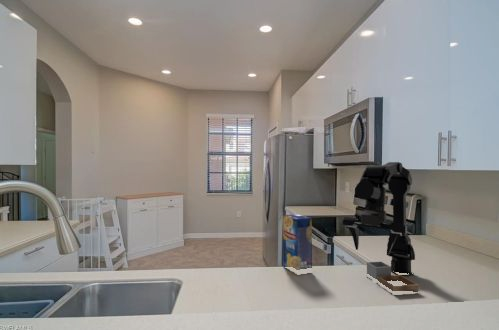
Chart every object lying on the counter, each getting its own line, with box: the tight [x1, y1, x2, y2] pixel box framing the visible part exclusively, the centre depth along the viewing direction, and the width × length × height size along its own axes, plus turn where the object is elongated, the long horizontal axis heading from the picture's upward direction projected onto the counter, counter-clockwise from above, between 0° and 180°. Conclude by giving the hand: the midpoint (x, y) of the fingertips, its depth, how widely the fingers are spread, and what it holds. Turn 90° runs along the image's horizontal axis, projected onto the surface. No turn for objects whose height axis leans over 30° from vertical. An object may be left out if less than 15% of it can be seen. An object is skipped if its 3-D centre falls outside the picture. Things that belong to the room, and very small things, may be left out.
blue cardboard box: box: [282, 213, 313, 270], centre depth 119 cm, size 7×11×22 cm, turn 23°
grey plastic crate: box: [366, 261, 392, 279], centre depth 108 cm, size 6×6×6 cm
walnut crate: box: [377, 274, 420, 292], centre depth 100 cm, size 9×9×3 cm
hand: (371, 252), depth 92 cm, fingers open, 9 cm apart
